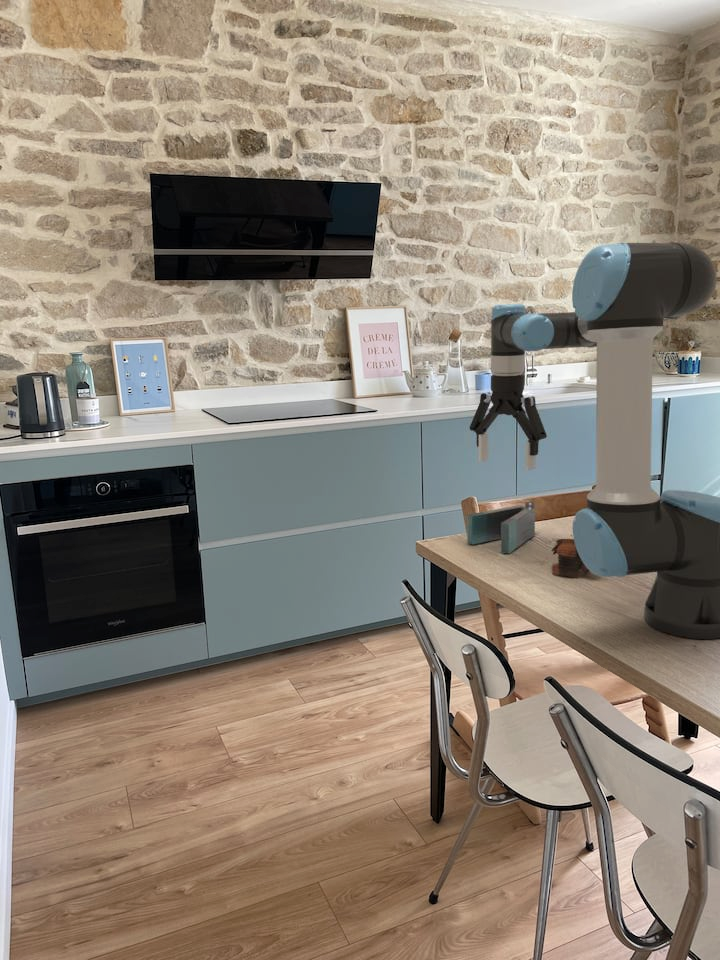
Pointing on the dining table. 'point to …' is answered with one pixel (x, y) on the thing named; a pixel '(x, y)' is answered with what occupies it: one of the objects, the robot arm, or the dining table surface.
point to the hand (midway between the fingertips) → (506, 464)
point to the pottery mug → (568, 559)
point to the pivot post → (529, 504)
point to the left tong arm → (489, 524)
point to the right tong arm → (517, 530)
